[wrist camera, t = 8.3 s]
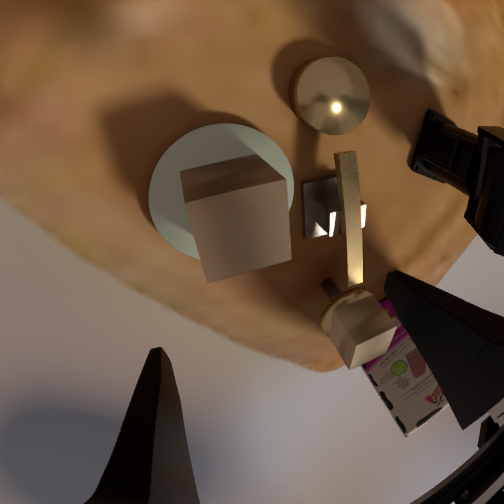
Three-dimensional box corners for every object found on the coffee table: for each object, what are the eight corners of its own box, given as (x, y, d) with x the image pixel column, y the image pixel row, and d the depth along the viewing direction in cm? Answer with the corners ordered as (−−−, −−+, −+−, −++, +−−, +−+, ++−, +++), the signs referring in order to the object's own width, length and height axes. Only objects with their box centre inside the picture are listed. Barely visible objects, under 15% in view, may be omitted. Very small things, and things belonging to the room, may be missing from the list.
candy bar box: (346, 344, 36) (403, 439, 23) (337, 329, 33) (403, 437, 20) (409, 299, 35) (476, 382, 22) (407, 279, 32) (485, 371, 19)
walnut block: (256, 153, 17) (286, 179, 13) (264, 220, 20) (291, 259, 16) (179, 171, 17) (184, 203, 13) (196, 237, 20) (207, 283, 16)
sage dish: (303, 135, 18) (309, 138, 18) (271, 254, 23) (275, 261, 23) (156, 115, 15) (156, 116, 14) (147, 252, 20) (146, 259, 19)
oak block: (371, 294, 23) (397, 325, 20) (365, 322, 25) (386, 352, 22) (333, 310, 22) (356, 345, 19) (329, 337, 25) (349, 370, 22)
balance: (284, 58, 15) (320, 53, 11) (354, 58, 16) (399, 60, 12) (302, 311, 29) (321, 345, 25) (347, 294, 30) (370, 324, 26)
